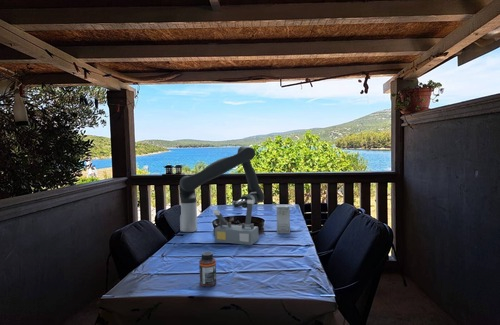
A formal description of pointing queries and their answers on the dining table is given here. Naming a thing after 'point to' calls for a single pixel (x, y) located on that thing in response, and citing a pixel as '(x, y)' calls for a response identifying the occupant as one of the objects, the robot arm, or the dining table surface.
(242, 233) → the switch box
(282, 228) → the circuit breaker
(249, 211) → the lever grey
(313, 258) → the dining table surface
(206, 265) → the supplement bottle
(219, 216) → the lever with pale knob
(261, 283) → the dining table surface
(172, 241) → the dining table surface
